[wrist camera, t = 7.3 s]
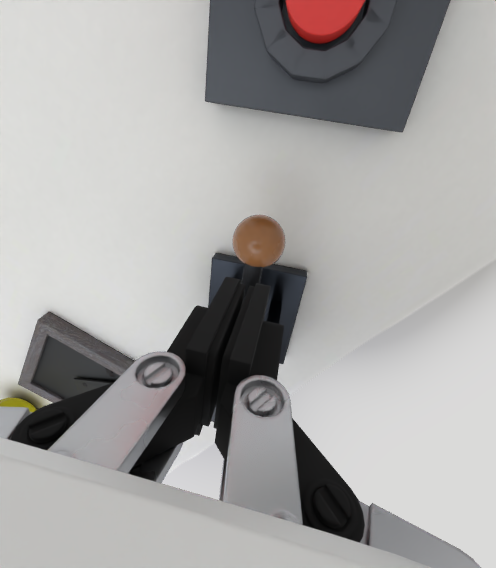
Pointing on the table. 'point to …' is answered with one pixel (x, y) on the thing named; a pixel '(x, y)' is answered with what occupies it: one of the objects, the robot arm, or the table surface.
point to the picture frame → (68, 361)
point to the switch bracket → (281, 296)
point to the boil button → (322, 18)
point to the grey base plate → (322, 61)
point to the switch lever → (257, 248)
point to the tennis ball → (16, 403)
